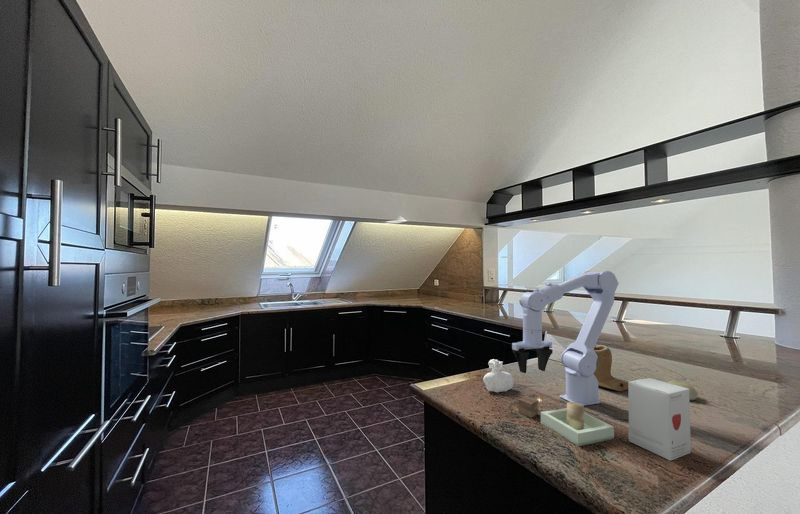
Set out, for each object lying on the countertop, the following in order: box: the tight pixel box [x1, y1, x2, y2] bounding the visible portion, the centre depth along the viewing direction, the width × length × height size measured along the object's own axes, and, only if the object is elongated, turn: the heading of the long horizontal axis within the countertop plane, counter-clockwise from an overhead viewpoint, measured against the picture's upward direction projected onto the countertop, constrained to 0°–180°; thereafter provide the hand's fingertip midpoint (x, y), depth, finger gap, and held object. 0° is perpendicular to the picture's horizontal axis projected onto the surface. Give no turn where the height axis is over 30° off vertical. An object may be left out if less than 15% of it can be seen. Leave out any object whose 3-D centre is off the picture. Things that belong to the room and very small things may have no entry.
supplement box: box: [627, 377, 692, 461], centre depth 75 cm, size 9×9×15 cm
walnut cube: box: [517, 395, 539, 419], centre depth 91 cm, size 4×4×4 cm
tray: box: [540, 407, 615, 447], centre depth 82 cm, size 12×12×3 cm
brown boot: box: [593, 344, 629, 392], centre depth 116 cm, size 15×12×15 cm
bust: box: [483, 358, 514, 393], centre depth 111 cm, size 12×8×11 cm
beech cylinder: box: [566, 401, 585, 430], centre depth 82 cm, size 4×4×6 cm
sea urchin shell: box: [665, 380, 698, 401], centre depth 107 cm, size 9×8×8 cm
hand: (532, 371), depth 100 cm, fingers open, 7 cm apart
